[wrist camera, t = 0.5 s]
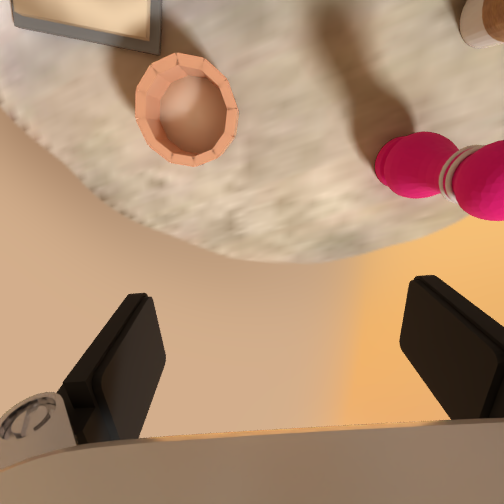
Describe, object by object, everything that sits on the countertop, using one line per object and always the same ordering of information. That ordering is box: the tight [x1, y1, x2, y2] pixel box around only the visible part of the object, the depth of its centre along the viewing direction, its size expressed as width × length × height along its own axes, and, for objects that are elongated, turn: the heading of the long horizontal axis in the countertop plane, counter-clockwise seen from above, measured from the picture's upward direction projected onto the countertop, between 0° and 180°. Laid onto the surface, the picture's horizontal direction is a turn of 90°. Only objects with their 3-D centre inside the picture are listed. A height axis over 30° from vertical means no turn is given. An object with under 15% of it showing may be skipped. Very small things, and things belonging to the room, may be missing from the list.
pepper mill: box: [375, 132, 504, 221], centre depth 27 cm, size 7×7×20 cm
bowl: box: [135, 52, 239, 167], centre depth 31 cm, size 10×10×6 cm
